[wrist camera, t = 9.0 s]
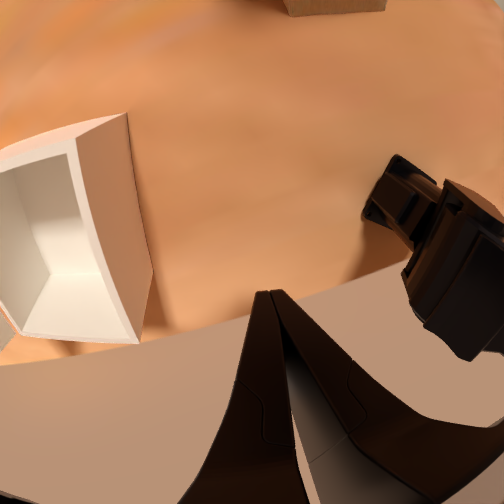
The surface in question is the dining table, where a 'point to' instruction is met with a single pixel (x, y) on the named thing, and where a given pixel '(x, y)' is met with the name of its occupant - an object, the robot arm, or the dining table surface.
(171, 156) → the dining table surface
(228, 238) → the dining table surface
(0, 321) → the carton flap
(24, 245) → the carton
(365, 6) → the sandwich container
